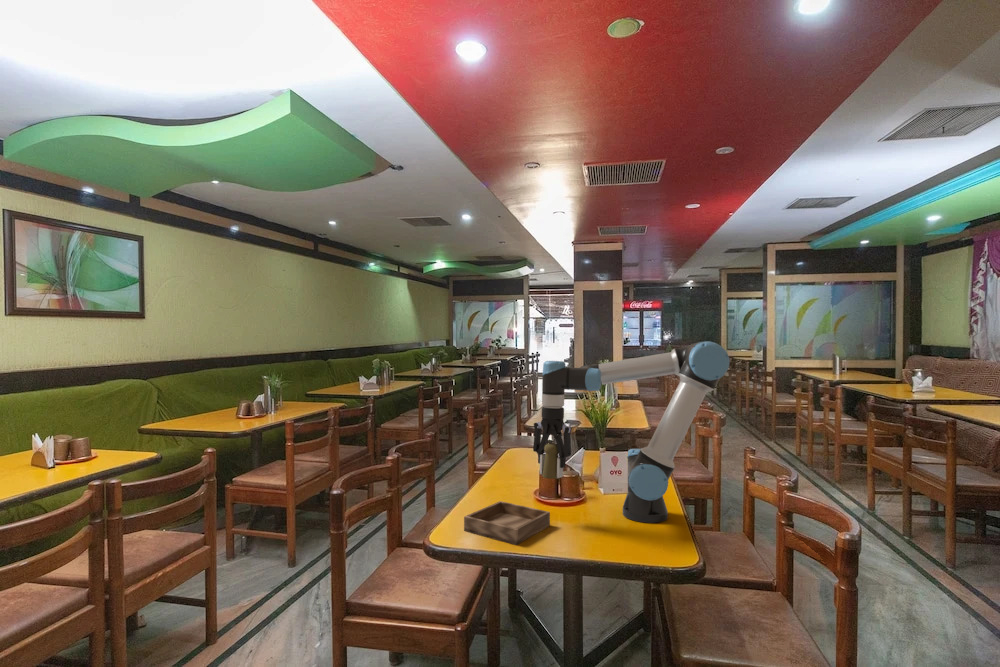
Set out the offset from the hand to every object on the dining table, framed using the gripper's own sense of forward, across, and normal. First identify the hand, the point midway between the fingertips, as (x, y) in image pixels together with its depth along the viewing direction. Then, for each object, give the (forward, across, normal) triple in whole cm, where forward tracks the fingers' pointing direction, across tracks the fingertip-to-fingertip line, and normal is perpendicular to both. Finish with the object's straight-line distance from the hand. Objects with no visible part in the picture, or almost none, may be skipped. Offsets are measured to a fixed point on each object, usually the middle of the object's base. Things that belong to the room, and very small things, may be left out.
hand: (551, 475), depth 173 cm
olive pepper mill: (+1, 0, 0) cm, 1 cm away
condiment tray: (+16, +8, +14) cm, 22 cm away
